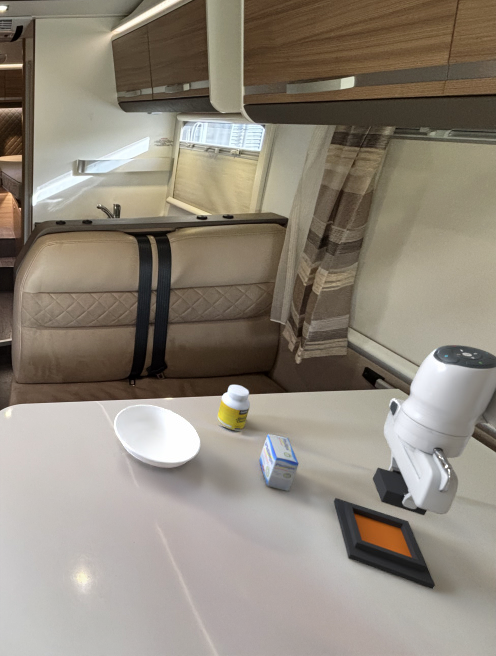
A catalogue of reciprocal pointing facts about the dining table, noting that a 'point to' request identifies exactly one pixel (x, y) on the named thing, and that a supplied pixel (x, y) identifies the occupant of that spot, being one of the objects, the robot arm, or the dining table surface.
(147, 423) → the bowl
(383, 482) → the black block
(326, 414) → the dining table surface
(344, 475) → the dining table surface
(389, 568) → the picture frame
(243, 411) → the pill bottle
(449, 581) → the dining table surface
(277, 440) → the medicine box
